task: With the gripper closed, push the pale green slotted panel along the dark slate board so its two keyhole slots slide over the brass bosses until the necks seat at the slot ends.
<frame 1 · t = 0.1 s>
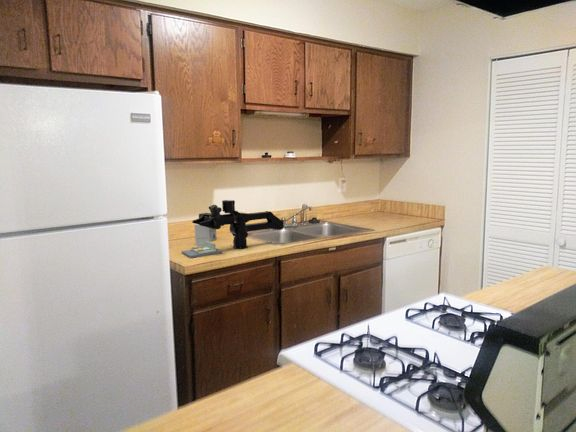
hand: (195, 222, 219), 17 cm above the counter, tool horizontal, fingers open, 9 cm apart
panel: (202, 246, 222), point 3 cm above the counter, slide at 0.0 cm
board: (201, 253, 223), on the counter
coffee box: (208, 240, 257), on the counter
supplement box: (202, 245, 244), on the counter
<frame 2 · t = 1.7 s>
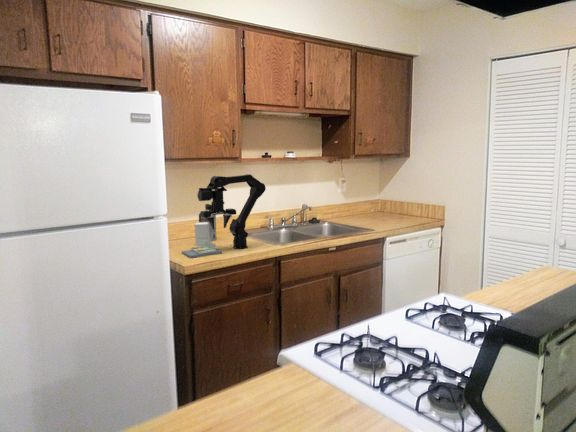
hand: (218, 228, 226), 12 cm above the counter, tool pointing down, fingers open, 6 cm apart
nothing on the counter moved.
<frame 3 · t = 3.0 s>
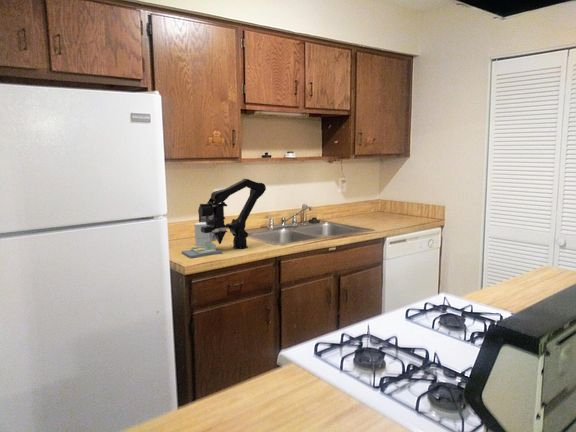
hand: (219, 243, 228), 4 cm above the counter, tool pointing down, fingers closed
nothing on the counter moved.
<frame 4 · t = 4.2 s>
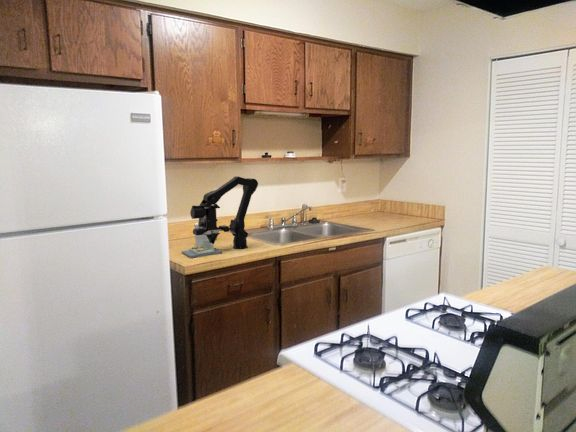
hand: (212, 246, 225), 3 cm above the counter, tool pointing down, fingers closed
panel: (201, 247, 222), point 3 cm above the counter, slide at 0.9 cm, touching gripper
everything else where it was.
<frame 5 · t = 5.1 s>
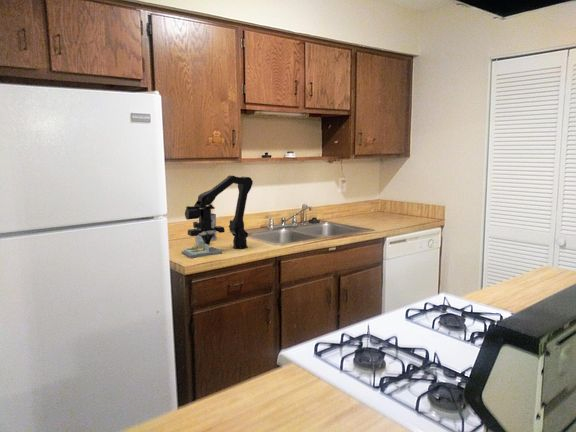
hand: (206, 246, 224), 3 cm above the counter, tool pointing down, fingers closed
panel: (196, 247, 220), point 3 cm above the counter, slide at 3.8 cm, touching gripper
everything else where it was.
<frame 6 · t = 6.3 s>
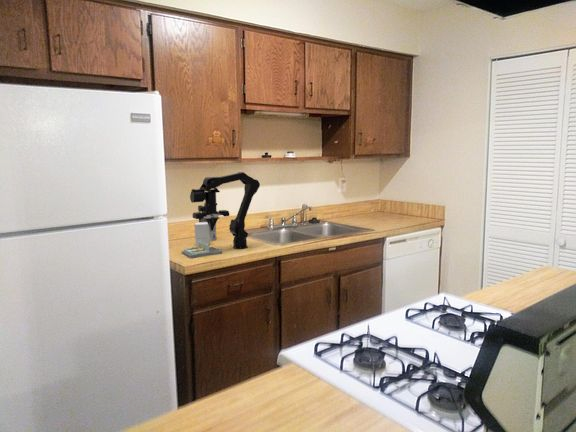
hand: (211, 230, 224), 12 cm above the counter, tool pointing down, fingers closed
panel: (196, 247, 220), point 3 cm above the counter, slide at 3.8 cm
everything else where it was.
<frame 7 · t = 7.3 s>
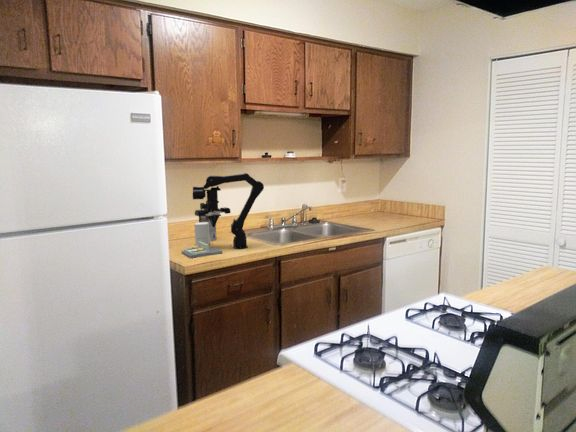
hand: (213, 227, 231), 12 cm above the counter, tool pointing down, fingers closed
nothing on the counter moved.
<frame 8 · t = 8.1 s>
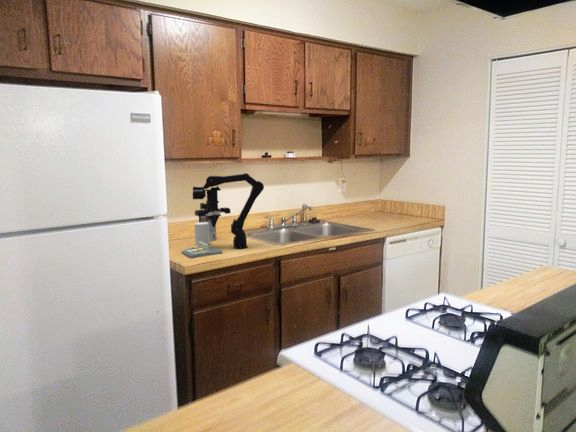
hand: (213, 227, 231), 12 cm above the counter, tool pointing down, fingers closed
nothing on the counter moved.
at the end: panel slide at 3.8 cm; the gripper is holding nothing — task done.
